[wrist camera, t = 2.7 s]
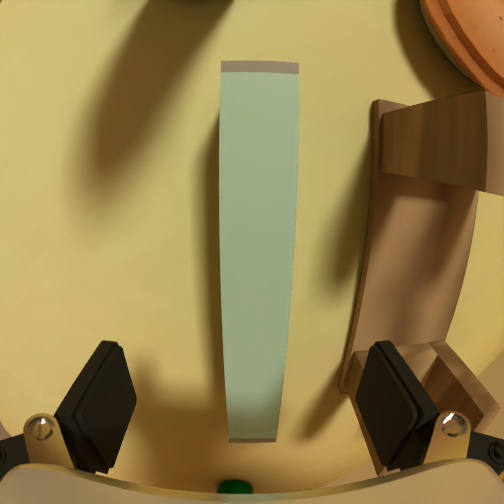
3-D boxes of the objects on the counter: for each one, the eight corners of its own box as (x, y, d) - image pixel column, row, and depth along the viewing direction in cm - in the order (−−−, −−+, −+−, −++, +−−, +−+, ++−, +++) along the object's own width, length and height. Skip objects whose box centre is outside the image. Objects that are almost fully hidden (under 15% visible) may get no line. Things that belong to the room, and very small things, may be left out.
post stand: (473, 127, 17) (575, 131, 7) (425, 373, 24) (473, 447, 14) (372, 101, 17) (478, 64, 6) (337, 386, 24) (369, 483, 14)
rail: (283, 91, 17) (298, 63, 11) (271, 390, 24) (275, 442, 18) (229, 89, 17) (221, 61, 11) (232, 390, 24) (229, 442, 18)
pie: (457, 129, 17) (498, 128, 13) (362, -31, 13) (384, -61, 8) (532, 93, 15) (563, 92, 10) (464, -31, 11) (488, -46, 6)
